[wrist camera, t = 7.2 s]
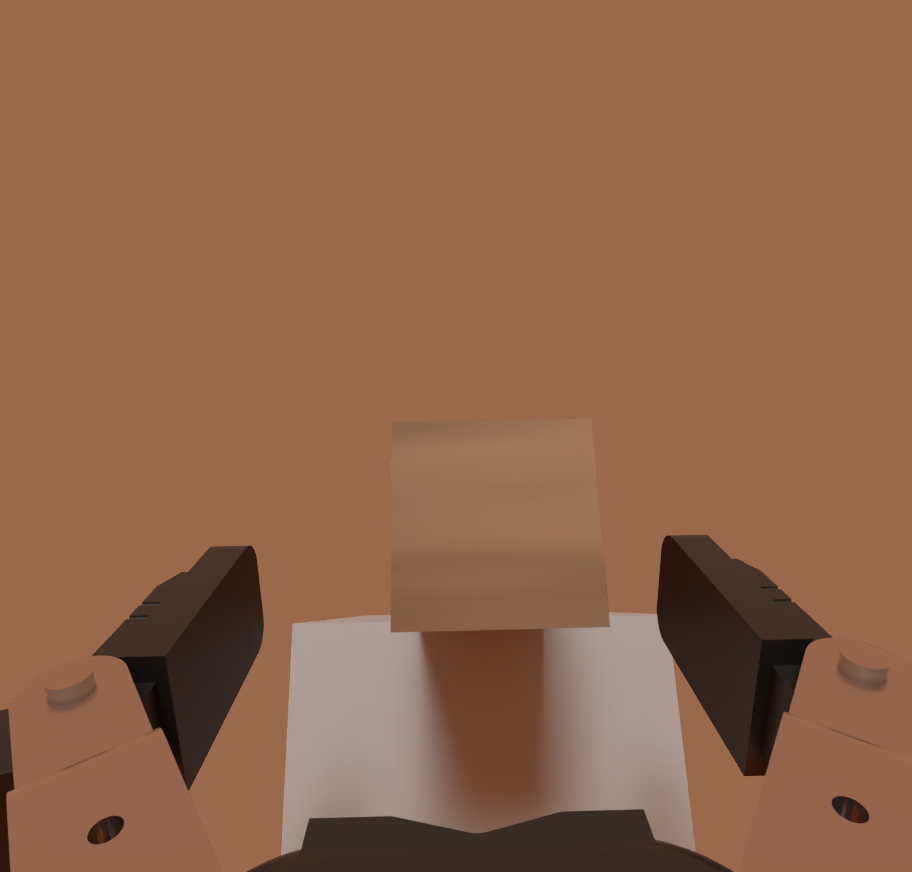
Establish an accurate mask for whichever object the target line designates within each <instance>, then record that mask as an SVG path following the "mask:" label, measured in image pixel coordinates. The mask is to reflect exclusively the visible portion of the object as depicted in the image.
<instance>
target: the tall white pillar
mask: <svg viewBox="0 0 912 872" xmlns="http://www.w3.org/2000/svg"><path fill="white" fill-rule="evenodd" d="M609 620H610V627H594V628H554V629H513V630H473V631H433V632H393V633H390V631H391V615H377V616H376V615H374V616H359V617H351V618H341V619H332V620H323V621H314V622H306V623H297V624H293V630H292V650H291V670H290V690H289V710H288V730H287V731H288V732H287V751H286V770H285V791H284V811H283V832H282V852H281V855H284V854H287V853H289V852H293V851H296V850H300V849H301V848H302V844H303V840H304V836H305V832H306V829H307V825H308V821H309V818H339V817H375V816H394V817H398V818H403V819H408V820H413V821H417V822H422V823H427V824H431V825H436V826H441V827H446V828H450V829H455V830H460V831H464V832H469V833H484V832H489V831H492V830H496V829H500V828H503V827H507V826H510V825H514V824H518V823H521V822H525V821H529V820H532V819H536V818H540V817H543V816H547V815H551V814H554V813H558V812H562V811H596V810H632V809H644V812H645V814H646V817H647V820H648V822H649V825H650V828H651V830H652V833H653V836H654V838H655V840H660V841H664V842H668V843H671V844H674V845H677V846H680V847H684V848H687V849H689V850H691V851H694V852H695V845H694V837H693V828H692V820H691V811H690V802H689V794H688V786H687V777H686V768H685V759H684V751H683V742H682V734H681V726H680V717H679V708H678V699H677V691H676V682H675V674H674V665H673V656H672V655H671V653H670V651H669V650H668V648H667V646H666V645H665V643H664V641H663V639H662V637H661V634H660V630H659V626H658V620H657V614H640V613H616V612H609Z"/></svg>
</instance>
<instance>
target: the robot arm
mask: <svg viewBox="0 0 912 872" xmlns="http://www.w3.org/2000/svg"><path fill="white" fill-rule="evenodd" d="M657 620H658V626H659V630H660V634H661V637H662V639H663V641H664V643H665V645H666V646H667V648H668V650H669V651H670V653H671V655H672V656H673V658H674V659H675V661H676V663H677V665H678V666H679V668H680V670H681V671H682V673H683V675H684V676H685V678H686V680H687V681H688V683H689V685H690V686H691V688H692V690H693V691H694V693H695V695H696V696H697V698H698V700H699V701H700V703H701V705H702V706H703V708H704V710H705V711H706V713H707V715H708V716H709V718H710V720H711V721H712V723H713V725H714V727H715V728H716V730H717V731H718V733H719V735H720V737H721V738H722V740H723V741H724V743H725V745H726V747H727V748H728V750H729V751H730V753H731V755H732V757H733V758H734V760H735V762H736V763H737V765H738V767H739V768H740V770H741V772H742V773H743V775H744V776H759V775H760V776H764V775H765V779H764V782H763V786H762V789H761V793H760V796H759V800H758V803H757V807H756V810H755V814H754V817H753V821H752V825H751V829H750V832H749V835H748V838H747V842H746V846H745V849H744V853H743V856H742V860H741V863H740V867H739V870H738V872H912V665H911V664H910V663H908V662H907V661H905V660H904V659H902V658H901V657H899V656H897V655H895V654H893V653H891V652H889V651H887V650H885V649H882V648H880V647H877V646H875V645H872V644H868V643H865V642H861V641H857V640H852V639H845V638H833V637H831V636H830V635H829V634H828V633H827V632H826V631H825V630H824V629H823V628H822V627H821V626H819V624H817V623H816V622H815V621H814V620H813V619H812V618H811V617H810V616H809V615H808V614H807V613H806V612H804V611H803V610H802V609H801V608H800V607H799V606H798V605H797V604H796V603H795V602H791V598H789V597H788V596H787V595H786V594H785V593H784V592H783V591H782V590H781V589H780V590H778V586H777V585H775V584H774V583H773V582H772V581H771V580H770V579H769V578H768V577H767V576H766V575H765V574H764V573H763V572H761V571H759V570H758V569H756V568H754V567H752V566H750V565H748V564H746V563H744V562H742V561H740V560H738V559H731V558H730V557H729V556H728V555H727V554H726V553H725V552H724V551H723V550H722V549H721V548H720V547H719V546H718V545H717V544H716V543H715V542H714V541H713V540H712V539H711V538H710V537H709V536H707V535H676V536H674V535H673V536H666V537H665V539H664V541H663V544H662V550H661V563H660V575H659V588H658V601H657ZM263 622H264V621H263V610H262V601H261V593H260V584H259V575H258V566H257V558H256V553H255V551H254V549H253V547H252V546H223V547H222V546H218V547H210V548H209V549H208V550H207V551H206V552H205V553H204V555H203V556H202V557H201V558H200V559H199V560H198V562H197V563H196V564H195V565H194V566H193V567H192V568H191V569H190V570H189V572H182V573H179V574H178V575H176V576H174V577H173V578H171V579H169V580H167V581H166V582H164V583H162V584H160V585H159V586H157V587H156V588H155V589H154V590H153V592H152V593H151V594H150V595H149V596H148V597H147V598H146V599H145V600H144V601H143V602H142V606H138V607H137V609H136V610H135V611H134V612H133V613H132V614H131V615H130V618H129V619H126V620H125V621H124V622H123V623H122V625H121V626H120V627H119V628H118V629H117V630H116V631H115V632H114V633H113V634H112V635H111V636H110V637H109V638H108V639H107V640H106V642H105V643H104V644H103V645H102V646H101V647H100V648H99V649H98V650H97V651H96V652H95V653H94V654H93V655H92V656H90V657H83V658H78V659H74V660H71V661H67V662H64V663H61V664H59V665H56V666H54V667H52V668H50V669H47V670H45V671H43V672H42V673H40V674H38V675H36V676H35V677H33V678H32V679H30V680H29V681H28V682H26V683H25V684H24V685H22V686H21V688H19V689H18V691H16V693H15V694H14V695H13V697H12V698H11V700H10V703H9V708H8V709H5V710H1V711H0V872H222V870H221V868H220V865H219V863H218V861H217V858H216V856H215V854H214V851H213V849H212V846H211V844H210V842H209V840H208V837H207V835H206V832H205V830H204V828H203V825H202V823H201V820H200V818H199V815H198V813H197V811H196V808H195V806H194V804H193V801H192V799H191V797H190V794H189V792H188V791H189V789H190V787H191V785H192V783H193V781H194V779H195V778H196V776H197V773H198V772H199V770H200V768H201V766H202V763H203V762H204V760H205V757H206V756H207V754H208V752H209V750H210V748H211V745H212V744H213V742H214V740H215V738H216V736H217V734H218V732H219V730H220V728H221V726H222V724H223V722H224V720H225V718H226V716H227V714H228V712H229V710H230V708H231V706H232V704H233V702H234V700H235V698H236V696H237V694H238V692H239V690H240V688H241V686H242V684H243V682H244V680H245V678H246V676H247V674H248V672H249V670H250V668H251V666H252V664H253V662H254V660H255V658H256V656H257V654H258V652H259V650H260V647H261V643H262V638H263V627H264V625H263ZM247 872H733V871H731V870H730V869H728V868H726V867H725V866H722V865H721V864H719V863H717V862H715V861H713V860H712V859H710V858H708V857H705V856H703V855H701V854H698V853H696V852H694V851H691V850H689V849H687V848H684V847H680V846H677V845H674V844H671V843H668V842H664V841H660V840H655V838H654V836H653V833H652V830H651V828H650V825H649V822H648V820H647V817H646V814H645V812H644V809H632V810H596V811H562V812H558V813H554V814H551V815H547V816H543V817H540V818H536V819H532V820H529V821H525V822H521V823H518V824H514V825H510V826H507V827H503V828H500V829H496V830H492V831H489V832H484V833H469V832H464V831H460V830H455V829H450V828H446V827H441V826H436V825H431V824H427V823H422V822H417V821H413V820H408V819H403V818H398V817H394V816H375V817H339V818H309V821H308V825H307V829H306V832H305V836H304V840H303V844H302V848H301V849H300V850H296V851H293V852H289V853H287V854H284V855H281V856H279V857H276V858H274V859H272V860H269V861H267V862H265V863H263V864H261V865H259V866H257V867H255V868H253V869H251V870H249V871H247Z"/></svg>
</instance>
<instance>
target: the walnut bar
mask: <svg viewBox="0 0 912 872" xmlns="http://www.w3.org/2000/svg"><path fill="white" fill-rule="evenodd" d="M391 479H392V480H391V481H392V482H391V485H392V486H391V490H392V491H391V631H390V633H393V632H433V631H473V630H513V629H554V628H594V627H610V620H609V610H608V598H607V587H606V576H605V565H604V554H603V543H602V532H601V522H600V521H601V520H600V510H599V499H598V488H597V476H596V466H595V454H594V443H593V433H592V421H591V418H568V419H566V418H565V419H519V420H477V421H476V420H474V421H429V422H392V478H391Z"/></svg>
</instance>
